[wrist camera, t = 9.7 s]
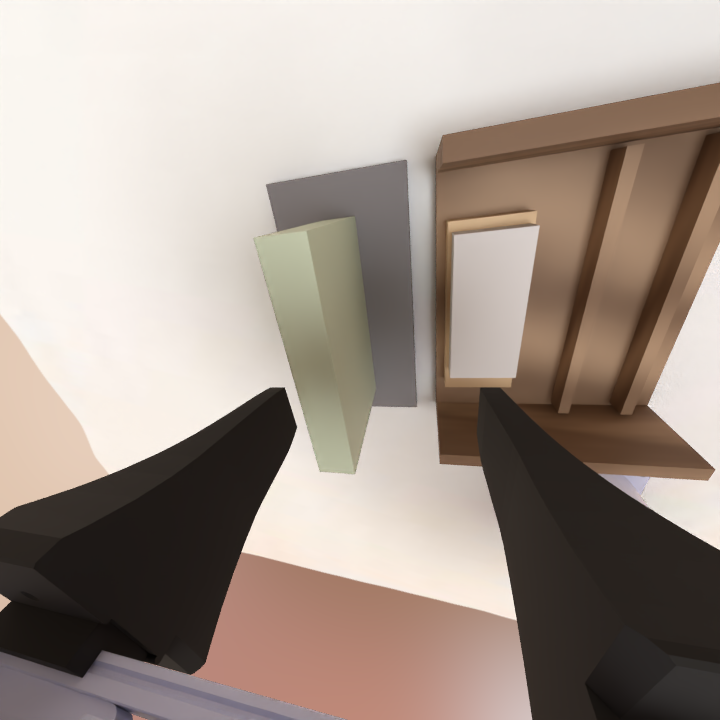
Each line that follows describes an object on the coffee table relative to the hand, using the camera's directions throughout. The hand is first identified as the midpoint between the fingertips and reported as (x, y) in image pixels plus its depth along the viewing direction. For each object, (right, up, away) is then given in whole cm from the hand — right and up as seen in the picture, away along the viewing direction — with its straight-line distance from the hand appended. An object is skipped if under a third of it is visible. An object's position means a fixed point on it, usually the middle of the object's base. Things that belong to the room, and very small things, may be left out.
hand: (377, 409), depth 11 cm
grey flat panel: (-1, +5, +9) cm, 11 cm away
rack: (+11, +6, +7) cm, 14 cm away
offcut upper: (+6, +5, +5) cm, 10 cm away
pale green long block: (-1, +5, +9) cm, 10 cm away
